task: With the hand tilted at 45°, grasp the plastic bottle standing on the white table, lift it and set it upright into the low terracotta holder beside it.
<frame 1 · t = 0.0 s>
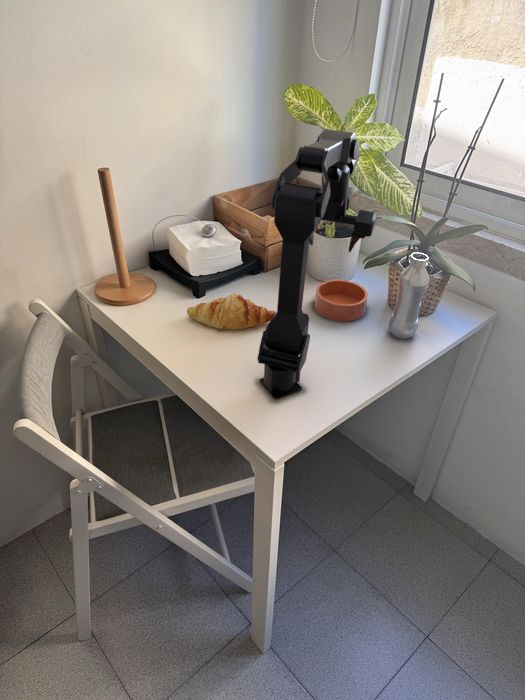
hand: (330, 247, 120), 15 cm above the table, tool pointing down, fingers open, 9 cm apart
plastic bottle: (400, 334, 120), on the table
holder: (339, 307, 128), on the table
croissant: (231, 321, 122), on the table
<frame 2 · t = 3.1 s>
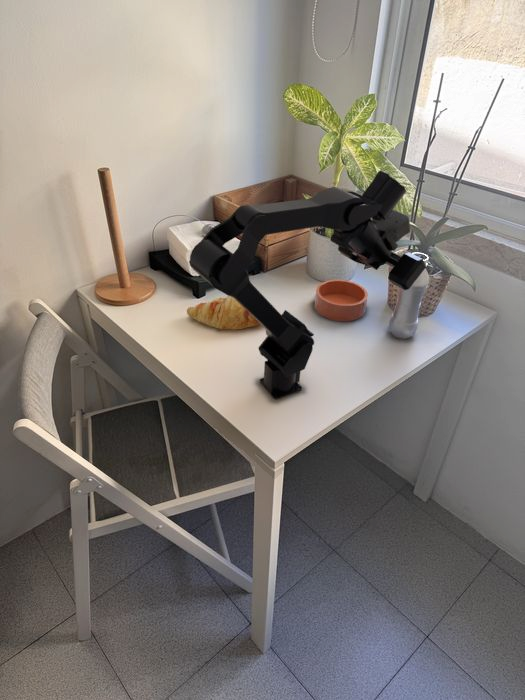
hand: (394, 275, 106), 17 cm above the table, tool tilted 45°, fingers open, 9 cm apart
nothing on the table moved.
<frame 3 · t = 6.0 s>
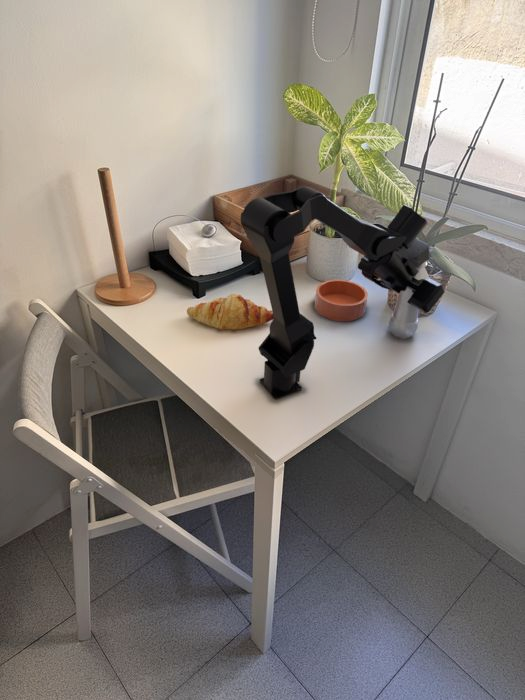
hand: (413, 297, 115), 10 cm above the table, tool tilted 45°, fingers closed on plastic bottle, 6 cm apart
plastic bottle: (400, 334, 120), on the table, touching gripper
everything else where it was.
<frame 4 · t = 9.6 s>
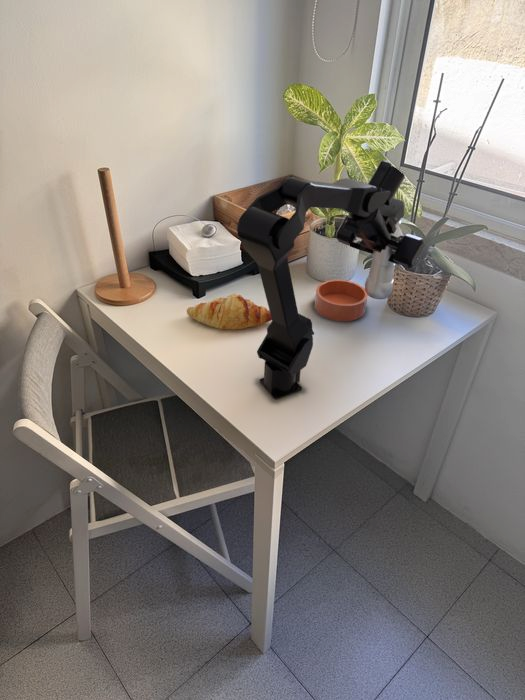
hand: (387, 257, 116), 16 cm above the table, tool tilted 45°, fingers closed on plastic bottle, 6 cm apart
plastic bottle: (376, 296, 121), point 6 cm above the table, touching gripper
everything else where it was.
when the fingers open (10 cm above the table, at t = 13.3 s): plastic bottle stays where it is, resting on holder.
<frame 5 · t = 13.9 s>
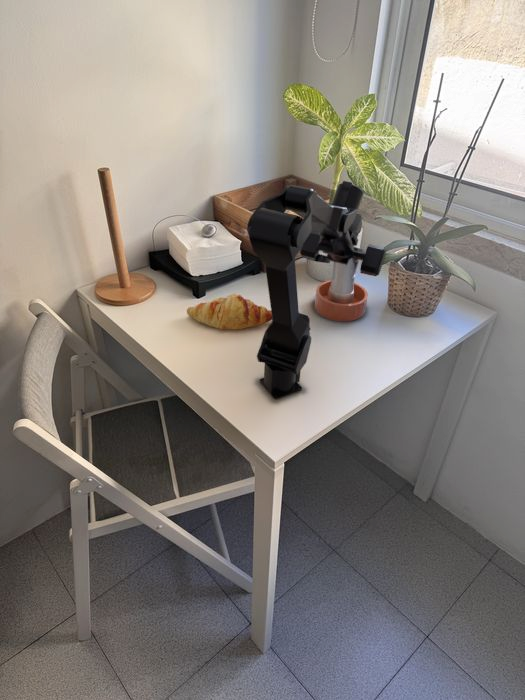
hand: (347, 265, 123), 11 cm above the table, tool tilted 45°, fingers open, 9 cm apart
plastic bottle: (339, 305, 128), point 1 cm above the table, touching holder
everything else where it was.
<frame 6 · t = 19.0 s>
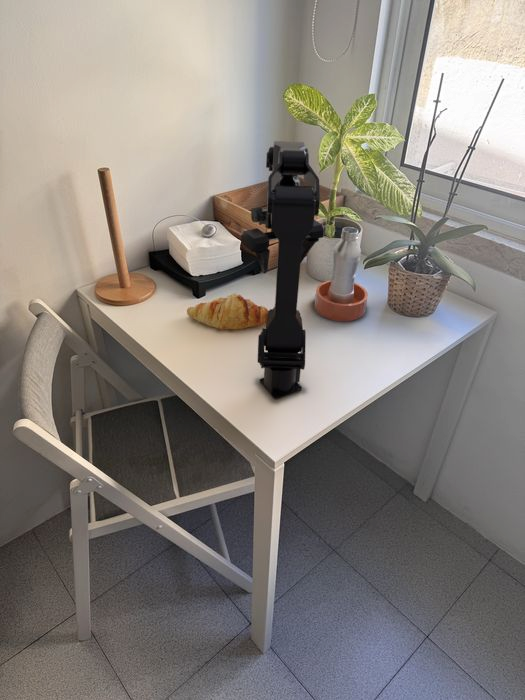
hand: (281, 268, 118), 12 cm above the table, tool pointing down, fingers open, 9 cm apart
nothing on the table moved.
at the end: plastic bottle inside the target area in the holder (0.3 cm from its centre), point 0.6 cm above the holder's base; plastic bottle tilted 0°; the gripper is holding nothing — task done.
